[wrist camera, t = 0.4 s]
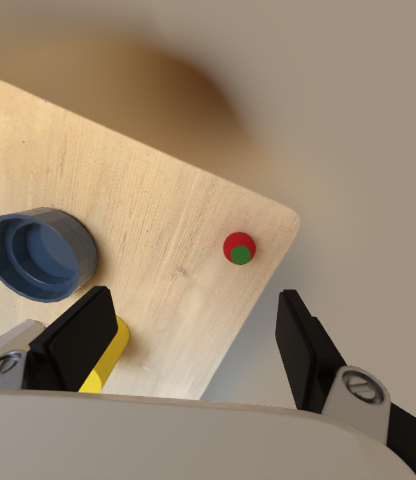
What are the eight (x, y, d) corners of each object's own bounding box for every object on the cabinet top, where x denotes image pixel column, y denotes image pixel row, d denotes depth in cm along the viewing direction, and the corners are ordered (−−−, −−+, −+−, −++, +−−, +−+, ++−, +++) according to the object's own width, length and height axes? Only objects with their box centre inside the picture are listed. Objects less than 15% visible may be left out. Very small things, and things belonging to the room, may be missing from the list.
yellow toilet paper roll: (137, 326, 38) (110, 374, 29) (118, 357, 41) (89, 409, 32) (89, 301, 37) (46, 344, 28) (74, 335, 40) (31, 383, 31)
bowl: (2, 214, 32) (-37, 222, 27) (80, 200, 30) (54, 206, 25) (40, 288, 36) (13, 306, 32) (110, 280, 35) (92, 298, 30)
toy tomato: (221, 230, 30) (220, 242, 25) (251, 226, 29) (257, 237, 25) (225, 257, 31) (225, 273, 27) (254, 254, 31) (260, 269, 26)
